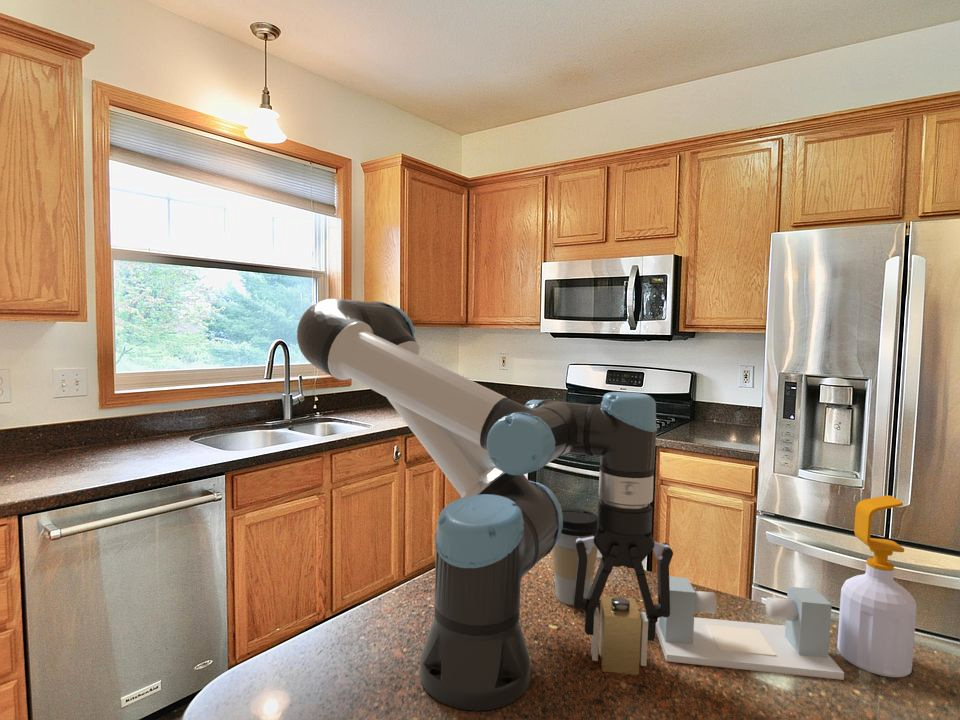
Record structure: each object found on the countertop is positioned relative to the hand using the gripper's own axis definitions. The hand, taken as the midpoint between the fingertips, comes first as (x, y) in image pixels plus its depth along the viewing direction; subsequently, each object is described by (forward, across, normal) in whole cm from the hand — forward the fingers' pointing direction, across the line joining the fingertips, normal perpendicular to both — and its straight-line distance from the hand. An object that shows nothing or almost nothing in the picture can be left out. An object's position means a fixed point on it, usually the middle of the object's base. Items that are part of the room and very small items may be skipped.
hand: (618, 657), depth 80 cm
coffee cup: (+1, -6, +18) cm, 19 cm away
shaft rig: (0, +19, +7) cm, 20 cm away
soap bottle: (+1, +38, +7) cm, 39 cm away
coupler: (0, 0, 0) cm, 0 cm away
